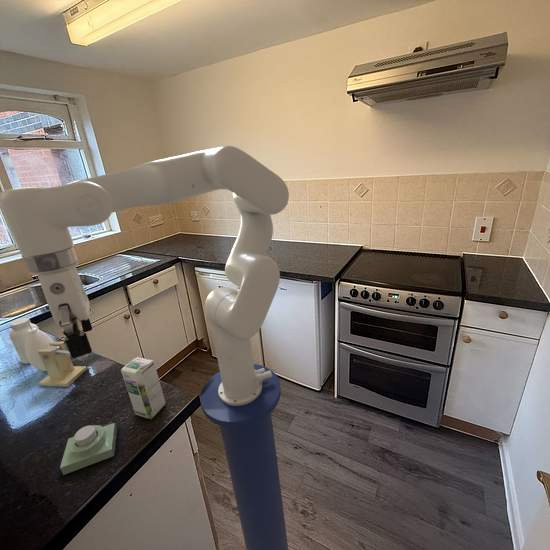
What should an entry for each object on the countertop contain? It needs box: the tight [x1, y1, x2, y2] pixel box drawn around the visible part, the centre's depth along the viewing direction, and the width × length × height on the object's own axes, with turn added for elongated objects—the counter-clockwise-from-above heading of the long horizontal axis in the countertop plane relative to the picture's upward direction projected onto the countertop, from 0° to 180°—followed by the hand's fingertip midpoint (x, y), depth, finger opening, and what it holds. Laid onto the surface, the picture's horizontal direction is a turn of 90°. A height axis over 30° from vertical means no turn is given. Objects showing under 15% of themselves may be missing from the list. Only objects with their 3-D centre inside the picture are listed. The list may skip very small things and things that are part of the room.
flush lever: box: [47, 346, 90, 362], centre depth 91 cm, size 13×3×3 cm, turn 81°
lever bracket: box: [38, 341, 88, 388], centre depth 93 cm, size 10×8×12 cm
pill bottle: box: [9, 317, 40, 364], centre depth 105 cm, size 8×8×15 cm
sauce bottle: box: [25, 323, 54, 372], centre depth 97 cm, size 8×8×18 cm
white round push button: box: [73, 424, 97, 447], centre depth 67 cm, size 4×4×2 cm
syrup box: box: [120, 356, 167, 420], centre depth 77 cm, size 6×6×14 cm
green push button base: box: [59, 422, 118, 476], centre depth 68 cm, size 10×8×4 cm
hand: (83, 342), depth 59 cm, fingers open, 9 cm apart
